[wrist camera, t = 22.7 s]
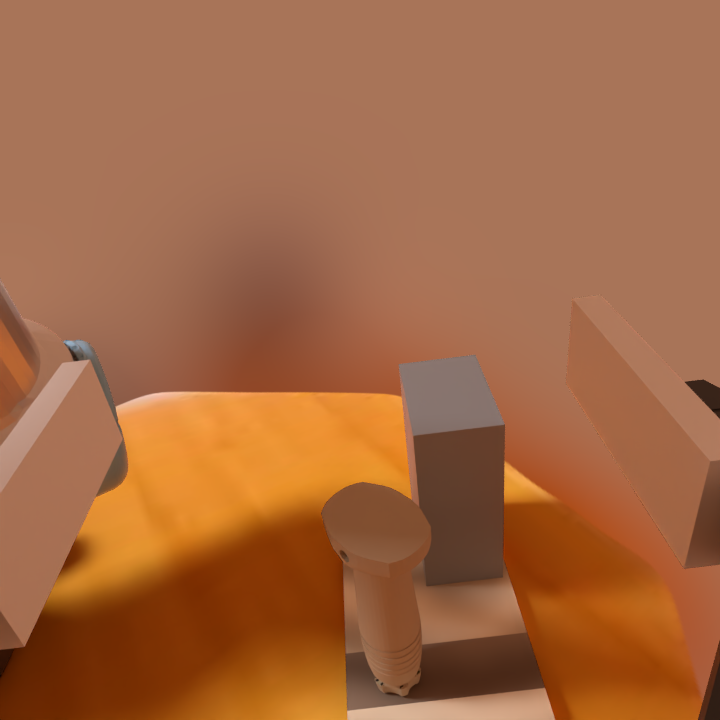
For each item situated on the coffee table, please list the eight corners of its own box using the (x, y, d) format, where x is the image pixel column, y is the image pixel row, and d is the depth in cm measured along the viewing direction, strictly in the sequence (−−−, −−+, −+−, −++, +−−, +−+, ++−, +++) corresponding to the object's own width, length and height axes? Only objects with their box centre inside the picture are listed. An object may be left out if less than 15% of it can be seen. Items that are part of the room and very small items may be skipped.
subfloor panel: (343, 528, 54) (341, 518, 53) (485, 510, 54) (484, 501, 53) (353, 848, 33) (351, 839, 33) (583, 823, 33) (585, 813, 33)
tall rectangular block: (412, 503, 54) (398, 364, 46) (481, 495, 54) (479, 354, 46) (426, 586, 46) (413, 435, 39) (506, 576, 46) (509, 424, 38)
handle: (407, 737, 37) (385, 578, 29) (339, 670, 41) (304, 516, 34) (456, 681, 40) (447, 522, 32) (388, 623, 44) (365, 471, 36)
